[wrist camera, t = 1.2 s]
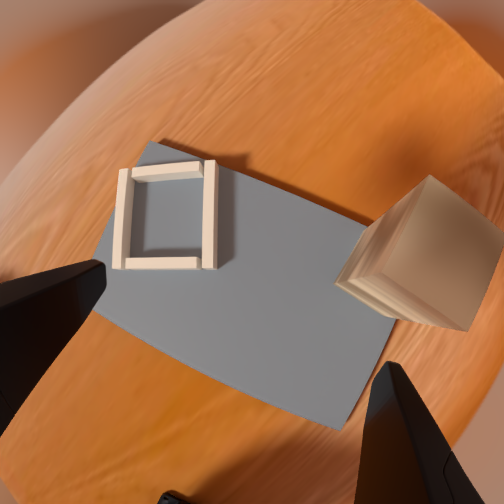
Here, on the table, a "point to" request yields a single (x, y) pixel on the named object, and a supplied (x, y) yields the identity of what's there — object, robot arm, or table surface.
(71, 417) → the table surface
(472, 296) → the birch pillar
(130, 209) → the socket
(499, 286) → the table surface
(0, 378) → the robot arm
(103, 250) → the plate
